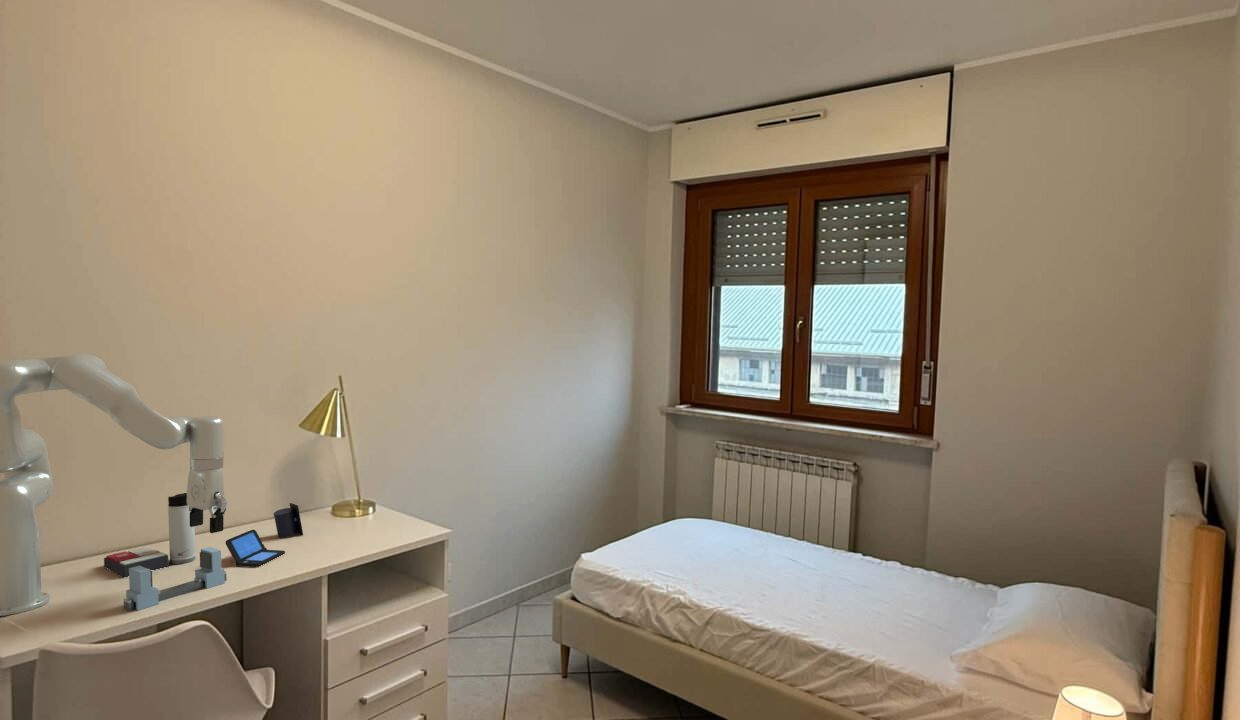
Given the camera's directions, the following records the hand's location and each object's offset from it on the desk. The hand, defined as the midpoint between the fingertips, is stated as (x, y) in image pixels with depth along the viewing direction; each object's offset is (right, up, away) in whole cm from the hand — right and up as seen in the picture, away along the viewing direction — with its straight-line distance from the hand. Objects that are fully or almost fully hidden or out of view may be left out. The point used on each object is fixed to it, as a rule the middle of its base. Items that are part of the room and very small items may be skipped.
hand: (206, 528), depth 177 cm
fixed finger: (-8, -15, -13) cm, 21 cm away
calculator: (-29, -15, +15) cm, 36 cm away
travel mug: (-19, -14, +19) cm, 30 cm away
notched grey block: (+1, -15, +1) cm, 15 cm away
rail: (-3, -15, -6) cm, 17 cm away
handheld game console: (+2, -15, +21) cm, 25 cm away
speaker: (0, -13, +43) cm, 45 cm away
